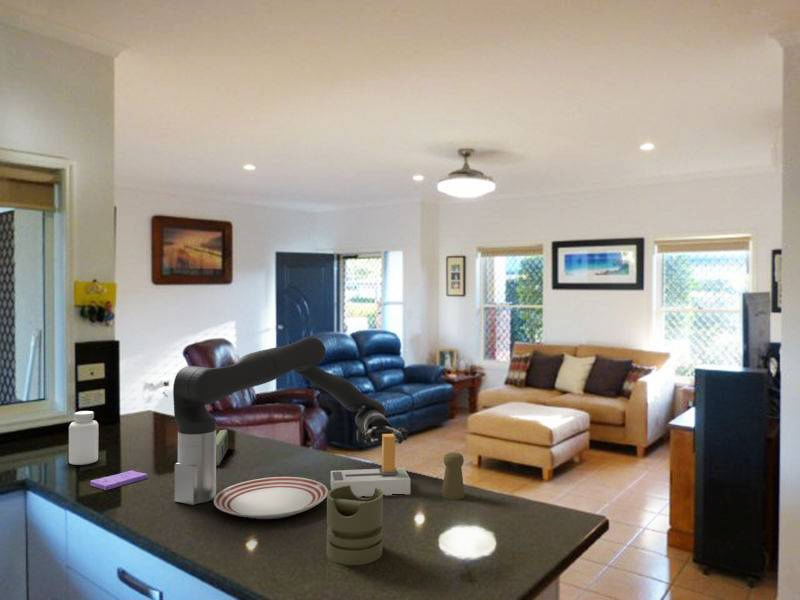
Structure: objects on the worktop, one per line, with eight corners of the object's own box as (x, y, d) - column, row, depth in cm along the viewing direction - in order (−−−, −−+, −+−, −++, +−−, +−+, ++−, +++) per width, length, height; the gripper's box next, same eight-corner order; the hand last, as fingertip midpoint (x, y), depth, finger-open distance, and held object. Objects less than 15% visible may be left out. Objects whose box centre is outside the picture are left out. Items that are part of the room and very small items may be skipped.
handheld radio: (229, 449, 203) (217, 472, 178) (219, 450, 203) (205, 472, 178) (228, 429, 203) (216, 449, 178) (218, 429, 203) (204, 449, 178)
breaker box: (333, 498, 157) (333, 482, 157) (330, 485, 167) (330, 470, 167) (410, 494, 160) (410, 478, 160) (403, 482, 170) (403, 467, 170)
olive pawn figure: (463, 500, 156) (464, 457, 156) (440, 498, 157) (440, 455, 157) (465, 492, 162) (466, 451, 162) (443, 490, 163) (443, 449, 163)
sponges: (90, 487, 165) (90, 480, 164) (132, 475, 175) (132, 469, 175) (105, 492, 161) (105, 485, 161) (147, 480, 171) (147, 473, 171)
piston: (339, 482, 132) (389, 487, 129) (338, 538, 132) (389, 544, 129) (318, 500, 121) (372, 506, 118) (317, 560, 121) (372, 568, 118)
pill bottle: (103, 458, 190) (103, 410, 190) (88, 466, 182) (88, 415, 182) (79, 457, 191) (79, 409, 190) (62, 465, 183) (62, 414, 182)
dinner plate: (212, 533, 134) (212, 518, 134) (214, 492, 161) (214, 479, 161) (336, 521, 142) (337, 507, 142) (319, 484, 168) (319, 472, 168)
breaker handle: (381, 475, 162) (381, 437, 161) (378, 470, 166) (379, 433, 166) (397, 474, 162) (398, 436, 162) (394, 469, 167) (395, 433, 167)
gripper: (353, 415, 186) (359, 428, 170) (400, 414, 188) (410, 426, 172) (353, 440, 186) (359, 455, 170) (400, 438, 188) (410, 453, 172)
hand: (385, 440), depth 171 cm, fingers open, 8 cm apart
